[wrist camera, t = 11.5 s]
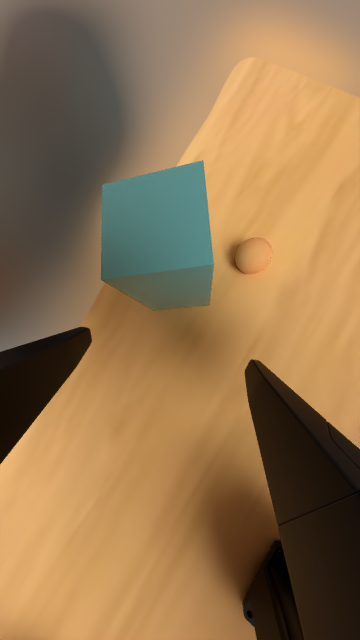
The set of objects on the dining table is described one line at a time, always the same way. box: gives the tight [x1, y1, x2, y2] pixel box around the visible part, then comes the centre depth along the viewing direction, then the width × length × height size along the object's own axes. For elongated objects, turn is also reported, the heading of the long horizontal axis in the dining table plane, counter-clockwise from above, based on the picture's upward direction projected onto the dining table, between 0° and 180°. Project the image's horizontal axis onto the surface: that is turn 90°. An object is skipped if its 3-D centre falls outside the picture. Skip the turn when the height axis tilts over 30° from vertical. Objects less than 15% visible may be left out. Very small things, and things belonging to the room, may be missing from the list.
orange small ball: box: [235, 238, 272, 274], centre depth 16 cm, size 3×3×3 cm
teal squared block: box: [101, 161, 214, 311], centre depth 14 cm, size 7×7×10 cm
